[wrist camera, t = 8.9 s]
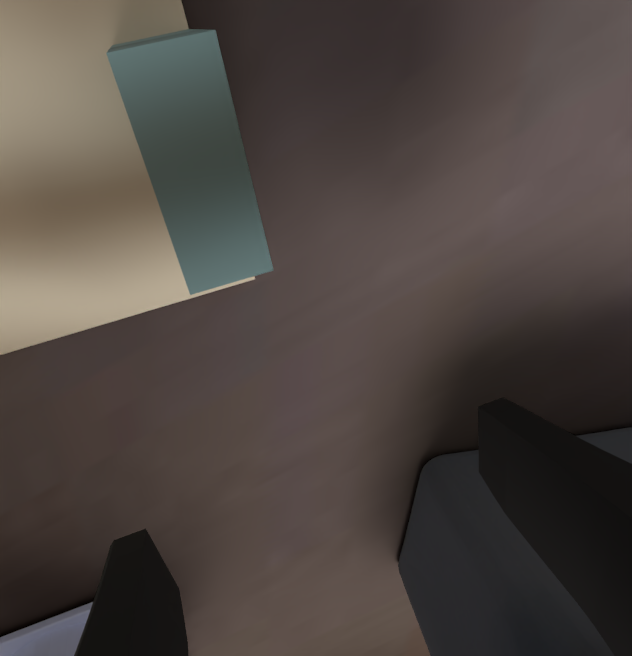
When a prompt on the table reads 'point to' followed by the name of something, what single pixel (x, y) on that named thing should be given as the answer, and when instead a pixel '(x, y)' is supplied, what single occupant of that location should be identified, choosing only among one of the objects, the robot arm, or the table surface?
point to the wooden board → (116, 167)
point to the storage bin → (488, 569)
